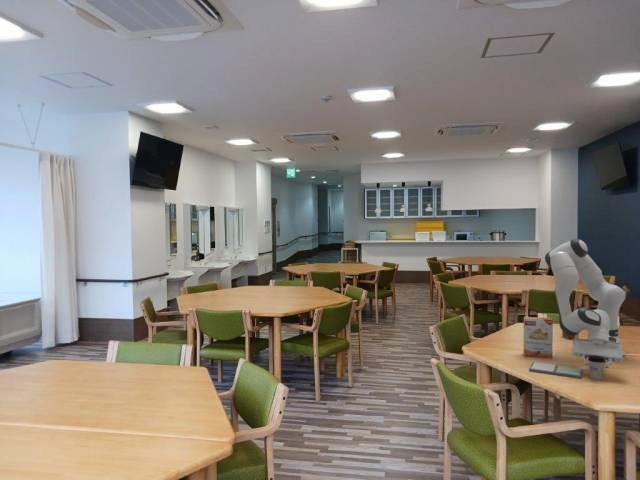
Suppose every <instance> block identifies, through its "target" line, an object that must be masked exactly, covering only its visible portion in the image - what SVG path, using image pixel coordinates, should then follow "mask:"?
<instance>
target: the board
mask: <svg viewBox="0 0 640 480" xmlns="http://www.w3.org/2000/svg"><path fill="white" fill-rule="evenodd" d="M528 372H532V373H537V374H538V373H540V374H546V375H552V376H559V377H567V378H573V379H582V377H583V376H582V375H583V373H584V370H583V368H579V367H574V366H573V367H572V366H565V365H558V364H550V363H544V362H536V361H533V362H532V364H531V365H530V367H529V369H528Z"/></svg>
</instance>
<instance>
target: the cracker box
mask: <svg viewBox="0 0 640 480" xmlns="http://www.w3.org/2000/svg"><path fill="white" fill-rule="evenodd" d="M553 326H554V321H553V319H552V318H551V317H536V316H533V317H532V316H523V355H524V357H534V358H535V357H537V358H548V359H553V343H554V341H553V339H554V338H553V336H554V335H553V333H554V331H553V329H554V327H553Z"/></svg>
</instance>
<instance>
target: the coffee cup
mask: <svg viewBox="0 0 640 480" xmlns="http://www.w3.org/2000/svg"><path fill="white" fill-rule="evenodd" d="M587 361H588V367H589V375H590V379H592V380H595V381H602V380H603V376H604V371H605V363H606V360H604V359H603V358H602V357H599V356H590V357H589V358H587Z"/></svg>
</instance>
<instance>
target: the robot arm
mask: <svg viewBox="0 0 640 480" xmlns="http://www.w3.org/2000/svg"><path fill="white" fill-rule="evenodd" d="M588 253H589V248H588V246H587V244H586V243H585V242H584V241H583V240H582V239H580V238H572V239H570V241H566V242H564V243H562V244H560V245H559V246H557V247H555V248H553V249H552V250H550V251H547V253H545V256H544V261H545V263H546V265H547V266H548V268H550V269H551V271H552V274H553V277H554V297H555V302H556V306H557V311H558V318H559V319H558V322H559V327H560V330H561V332H562V331H563V332H564V333H566V334H568V335H571V336H575V335H577V334H578V333H579V334H580V333H581V332H583V331H587V338H577V339H575V340H572V345H573V347H572V355H573V356H574V357H578V358H581V359H582V361H583V365H584V366H588V367H589V361H588V360H586V359H588V358H589V357H590V356H599V357H602V358H603V359H604V360H605V361H606V362H605V364H604V369H610V366H611V365H612V364H613V362H616V363H622V362H623V361H624V357H625V356H627V353H626V352H625V351H623V344H622V343H623V342H622V339H621V338H620V337H619V333H620V332H619V328H618V317H619V312H620V307H621V305H622V303H623V302H624V301H625V300H626V293H625V291H624V289H623V288H621V287H620V286H618V285H615V284H612V283H609V282H607V281H606V280H605V278H604V275H603V271H602V269H601V268H600V267H599V266H598V265H597V264H596V262H595V261H594V260H593V259H592V258H591V256H590V255H589V254H588ZM579 281H581V282H582V283H583V284H584V285H583V286H584V287H585V289H586V292H587V294H588V296H589V297H590V298H591V299H593V300H594V301H597V302H598V304H597V308H596V309H591V308H589V307H587V306H586V307H585V306H582V307H578V308H577V309H575V310H573V312H572V308H571V307H572V306H571V303H570V297H571V294H572V292H573V291H574V290H575V288H576V287H577V285H578V284H579ZM607 361H608V362H607Z"/></svg>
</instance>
